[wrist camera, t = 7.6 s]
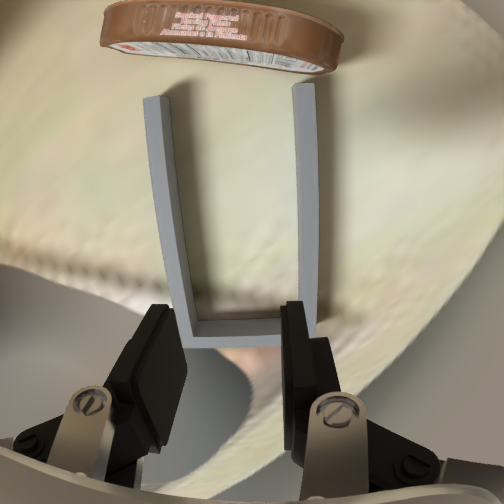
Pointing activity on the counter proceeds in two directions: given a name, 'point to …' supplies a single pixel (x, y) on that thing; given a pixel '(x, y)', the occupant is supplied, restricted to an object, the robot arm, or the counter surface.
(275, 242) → the counter surface
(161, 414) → the robot arm
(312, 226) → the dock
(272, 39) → the tin
